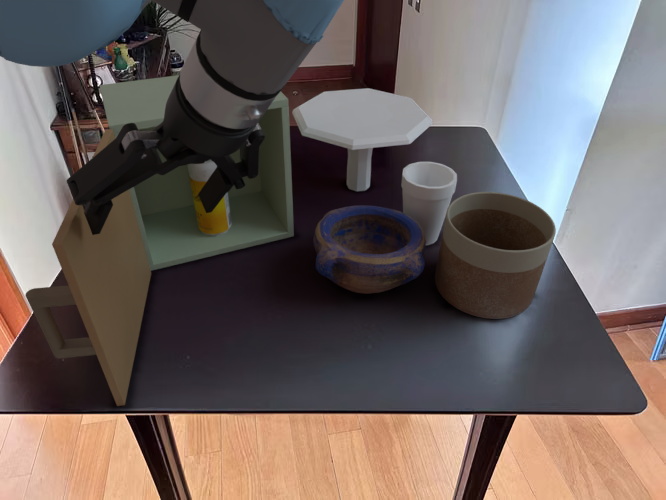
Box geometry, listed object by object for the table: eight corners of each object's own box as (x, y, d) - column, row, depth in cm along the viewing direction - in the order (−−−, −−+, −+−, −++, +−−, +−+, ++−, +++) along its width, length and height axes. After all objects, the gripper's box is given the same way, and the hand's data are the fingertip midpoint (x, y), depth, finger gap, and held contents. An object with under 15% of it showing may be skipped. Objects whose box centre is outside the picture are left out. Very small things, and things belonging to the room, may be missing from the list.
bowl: (416, 245, 94) (422, 199, 88) (423, 315, 80) (431, 265, 74) (318, 240, 95) (318, 194, 89) (308, 308, 81) (307, 259, 75)
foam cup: (399, 250, 93) (406, 188, 85) (392, 221, 100) (398, 161, 92) (451, 250, 93) (463, 188, 85) (440, 221, 101) (451, 161, 93)
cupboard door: (69, 411, 65) (-13, 248, 49) (109, 277, 86) (60, 131, 70) (124, 405, 66) (62, 243, 50) (151, 273, 87) (112, 128, 71)
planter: (532, 332, 77) (558, 261, 69) (427, 309, 81) (439, 239, 73) (532, 268, 89) (554, 200, 81) (440, 250, 93) (452, 184, 85)
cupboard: (294, 236, 96) (288, 99, 80) (147, 271, 87) (108, 125, 71) (266, 192, 108) (256, 65, 92) (135, 219, 100) (99, 84, 83)
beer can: (200, 219, 98) (187, 147, 88) (232, 218, 98) (223, 146, 89) (197, 238, 93) (183, 164, 84) (231, 236, 93) (221, 163, 84)
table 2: (279, 214, 102) (274, 136, 91) (307, 150, 124) (305, 81, 113) (422, 229, 98) (433, 149, 88) (424, 160, 120) (434, 90, 110)
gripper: (83, 146, 35) (45, 267, 51) (344, 125, 51) (254, 221, 67) (48, 57, 36) (21, 201, 52) (313, 63, 53) (232, 171, 68)
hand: (152, 212), depth 60 cm, fingers open, 13 cm apart
